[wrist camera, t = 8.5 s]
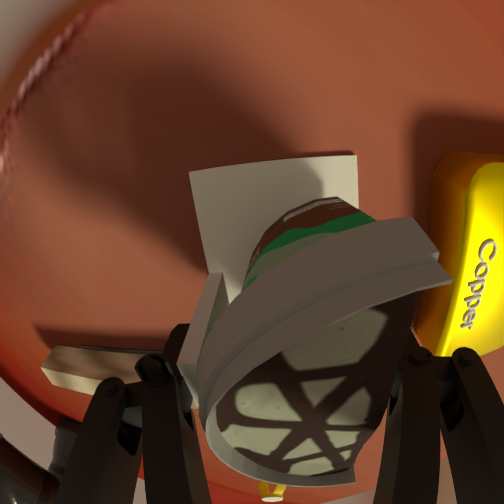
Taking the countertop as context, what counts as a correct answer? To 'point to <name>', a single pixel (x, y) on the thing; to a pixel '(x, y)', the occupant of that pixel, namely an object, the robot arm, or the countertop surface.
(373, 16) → the countertop surface
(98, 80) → the countertop surface
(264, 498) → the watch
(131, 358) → the maple straightedge
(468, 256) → the element tile
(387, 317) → the food container
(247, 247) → the plate
